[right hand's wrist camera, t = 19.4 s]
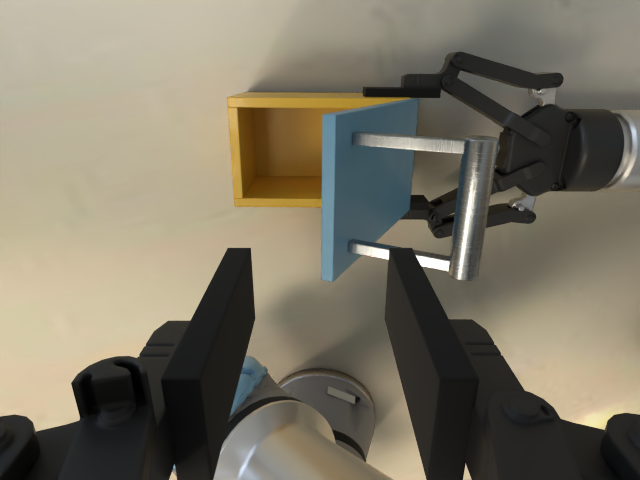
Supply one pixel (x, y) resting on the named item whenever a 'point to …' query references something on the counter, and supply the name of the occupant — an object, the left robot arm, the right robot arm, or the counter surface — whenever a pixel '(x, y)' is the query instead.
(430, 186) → the counter surface
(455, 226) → the lid
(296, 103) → the chest
